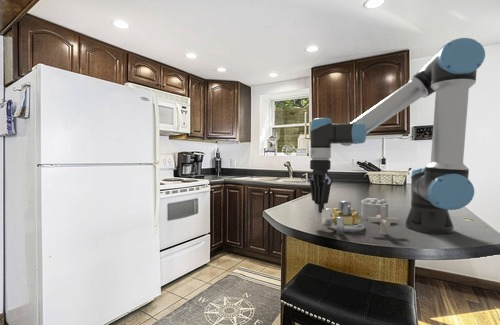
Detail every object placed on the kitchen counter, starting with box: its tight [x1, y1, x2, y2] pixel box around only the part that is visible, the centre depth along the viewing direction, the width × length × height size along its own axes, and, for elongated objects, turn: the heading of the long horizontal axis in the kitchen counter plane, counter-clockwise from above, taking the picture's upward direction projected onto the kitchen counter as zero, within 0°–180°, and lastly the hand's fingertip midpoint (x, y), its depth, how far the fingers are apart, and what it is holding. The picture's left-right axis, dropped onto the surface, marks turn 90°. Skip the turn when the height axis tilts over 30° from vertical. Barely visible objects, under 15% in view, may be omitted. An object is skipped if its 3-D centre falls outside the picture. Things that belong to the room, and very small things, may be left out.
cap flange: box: [327, 200, 365, 233], centre depth 101 cm, size 14×14×10 cm
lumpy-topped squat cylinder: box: [360, 197, 389, 220], centre depth 116 cm, size 10×13×9 cm
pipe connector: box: [366, 206, 400, 236], centre depth 91 cm, size 10×10×10 cm
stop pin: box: [335, 217, 344, 236], centre depth 91 cm, size 2×2×6 cm
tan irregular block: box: [321, 207, 361, 228], centre depth 99 cm, size 18×11×6 cm, turn 126°
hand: (319, 220), depth 98 cm, fingers closed
